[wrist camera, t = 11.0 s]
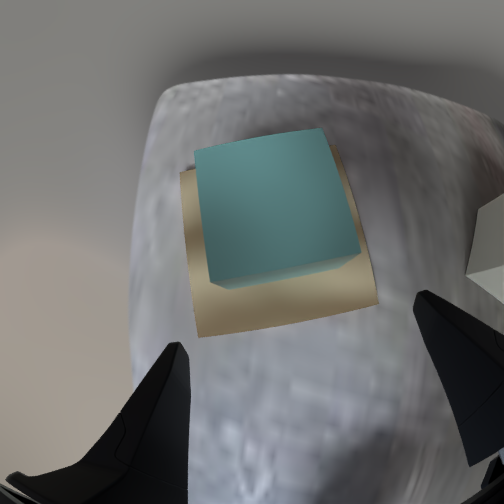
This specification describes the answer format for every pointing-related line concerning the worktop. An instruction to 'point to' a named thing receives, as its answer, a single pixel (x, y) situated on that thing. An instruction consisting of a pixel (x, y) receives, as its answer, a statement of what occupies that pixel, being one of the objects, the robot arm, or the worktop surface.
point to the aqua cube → (273, 209)
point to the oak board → (273, 293)
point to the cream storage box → (489, 249)
